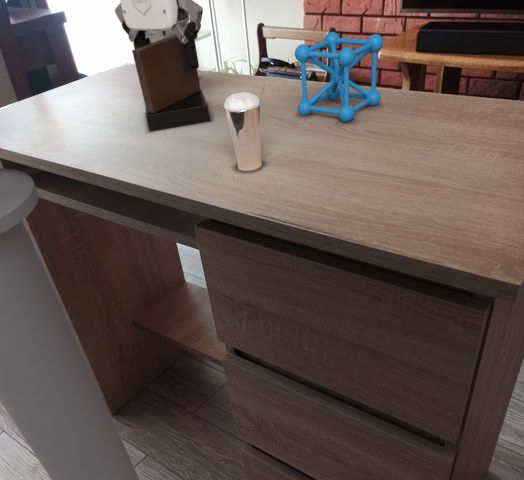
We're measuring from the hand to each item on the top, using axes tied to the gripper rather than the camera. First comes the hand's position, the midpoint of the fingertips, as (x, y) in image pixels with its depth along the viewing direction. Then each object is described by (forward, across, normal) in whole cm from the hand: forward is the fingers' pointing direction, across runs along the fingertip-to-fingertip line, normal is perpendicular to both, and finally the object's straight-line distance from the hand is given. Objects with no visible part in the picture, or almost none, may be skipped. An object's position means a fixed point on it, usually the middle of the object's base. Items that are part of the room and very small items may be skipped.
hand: (168, 68), depth 84 cm
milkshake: (+8, +25, -13) cm, 29 cm away
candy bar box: (+8, -13, +14) cm, 21 cm away
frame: (+5, 0, 0) cm, 5 cm away
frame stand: (+7, 0, 0) cm, 7 cm away
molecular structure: (+8, +25, +10) cm, 28 cm away
